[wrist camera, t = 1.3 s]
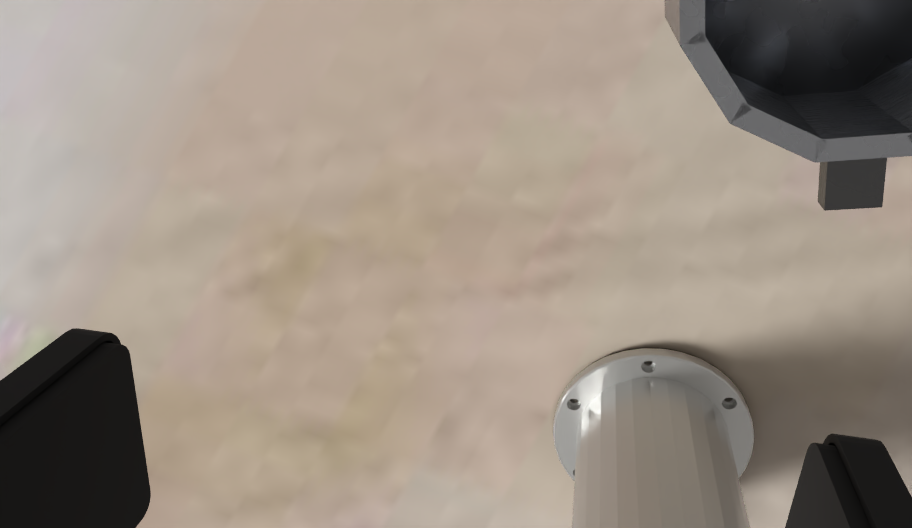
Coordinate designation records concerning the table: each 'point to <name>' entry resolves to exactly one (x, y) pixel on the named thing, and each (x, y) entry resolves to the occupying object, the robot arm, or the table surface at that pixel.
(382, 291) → the table surface
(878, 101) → the pot
